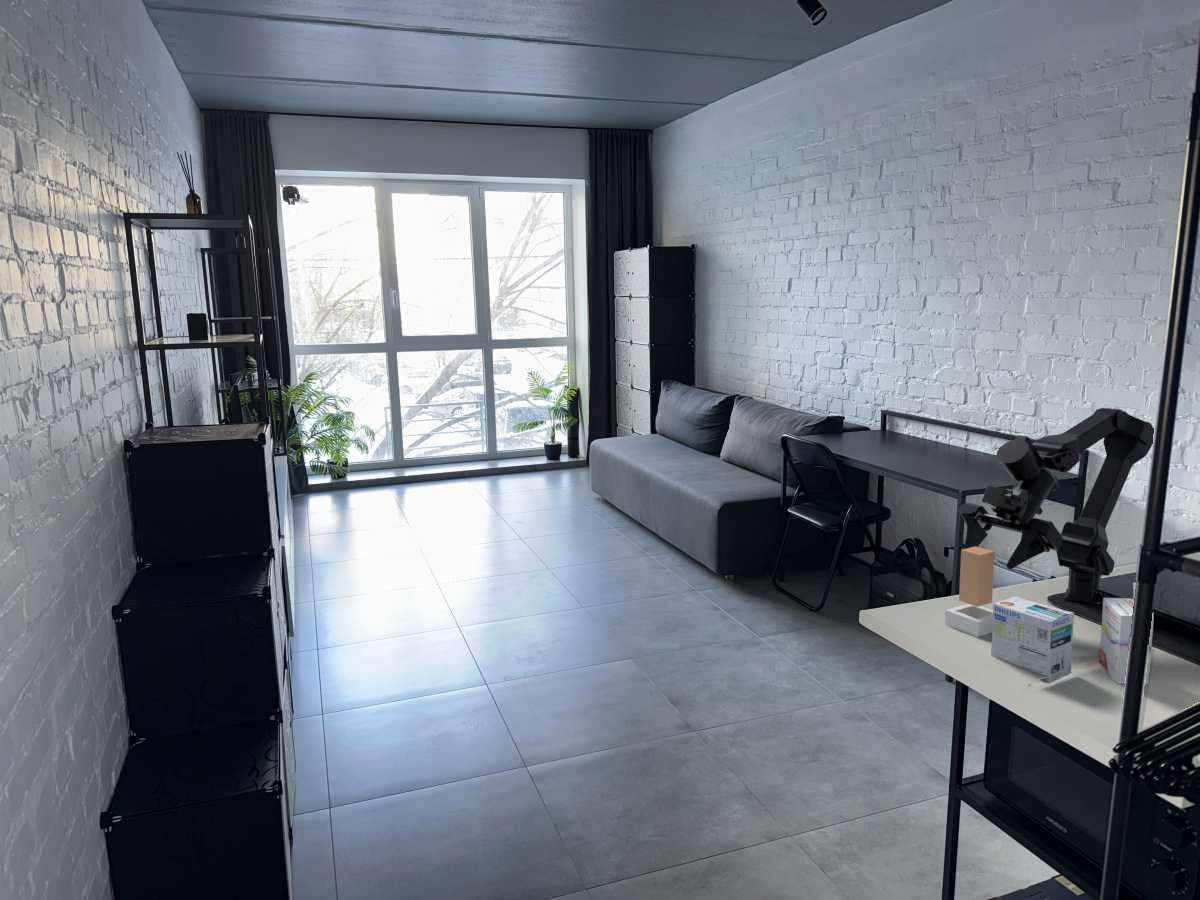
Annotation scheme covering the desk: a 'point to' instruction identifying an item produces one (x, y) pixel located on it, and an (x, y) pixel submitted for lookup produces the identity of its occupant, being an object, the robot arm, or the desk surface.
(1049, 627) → the light bulb box
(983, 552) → the plug
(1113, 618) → the ink cartridge box
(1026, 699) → the desk surface
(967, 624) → the white square socket
